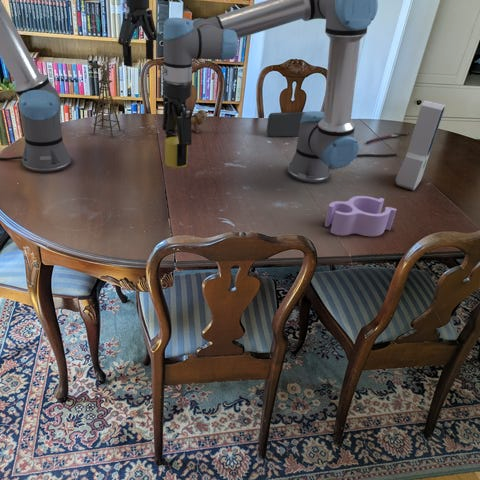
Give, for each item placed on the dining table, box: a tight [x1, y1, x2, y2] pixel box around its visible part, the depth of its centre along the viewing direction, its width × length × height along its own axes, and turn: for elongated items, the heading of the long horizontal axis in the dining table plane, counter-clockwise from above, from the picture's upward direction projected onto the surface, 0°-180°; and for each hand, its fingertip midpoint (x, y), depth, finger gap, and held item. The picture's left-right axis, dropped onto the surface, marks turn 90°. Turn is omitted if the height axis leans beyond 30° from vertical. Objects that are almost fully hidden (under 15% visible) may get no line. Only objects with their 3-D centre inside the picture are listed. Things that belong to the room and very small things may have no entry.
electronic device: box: [395, 100, 447, 191], centre depth 166 cm, size 12×8×30 cm, turn 148°
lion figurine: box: [175, 109, 207, 134], centre depth 196 cm, size 15×5×9 cm, turn 110°
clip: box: [324, 195, 398, 237], centre depth 141 cm, size 20×12×7 cm, turn 109°
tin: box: [164, 136, 189, 169], centre depth 137 cm, size 7×7×7 cm
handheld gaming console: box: [266, 111, 306, 137], centre depth 203 cm, size 23×3×10 cm, turn 108°
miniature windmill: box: [91, 55, 122, 138], centre depth 181 cm, size 9×8×30 cm
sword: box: [365, 132, 410, 145], centre depth 213 cm, size 31×3×1 cm, turn 126°
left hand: (139, 62), depth 164 cm, fingers open, 13 cm apart
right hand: (176, 160), depth 138 cm, fingers closed on tin, 7 cm apart
